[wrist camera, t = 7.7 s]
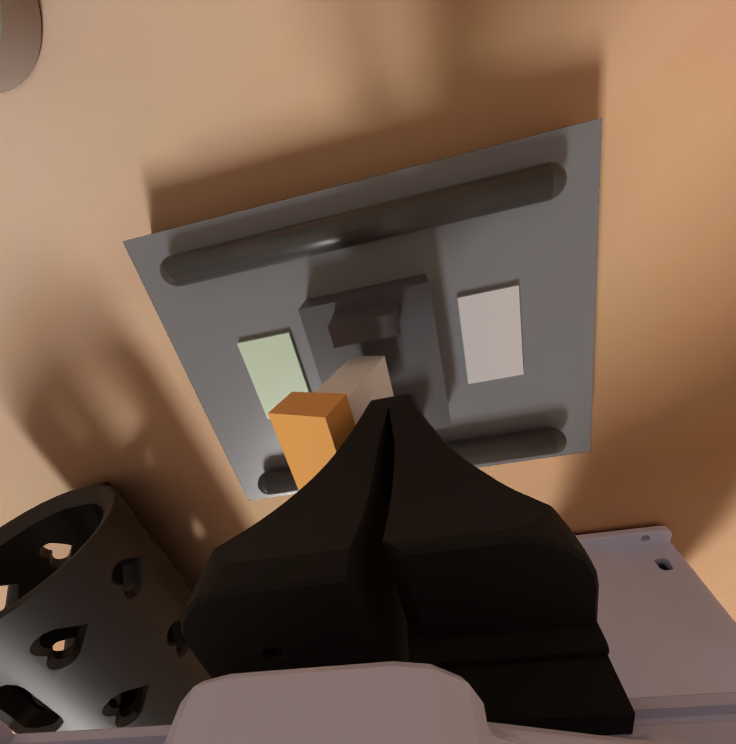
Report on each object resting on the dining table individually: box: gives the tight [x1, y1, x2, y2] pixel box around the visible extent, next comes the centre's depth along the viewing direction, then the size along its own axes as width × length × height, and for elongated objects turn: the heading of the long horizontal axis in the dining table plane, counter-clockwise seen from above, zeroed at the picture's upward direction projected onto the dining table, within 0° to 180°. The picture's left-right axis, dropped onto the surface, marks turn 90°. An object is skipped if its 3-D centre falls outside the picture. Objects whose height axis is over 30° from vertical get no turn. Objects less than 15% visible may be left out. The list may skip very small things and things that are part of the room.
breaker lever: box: [268, 356, 394, 490], centre depth 13 cm, size 2×3×4 cm, turn 13°
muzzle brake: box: [0, 482, 212, 734], centre depth 24 cm, size 10×28×10 cm, turn 17°
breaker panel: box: [123, 118, 602, 500], centre depth 16 cm, size 18×14×5 cm
